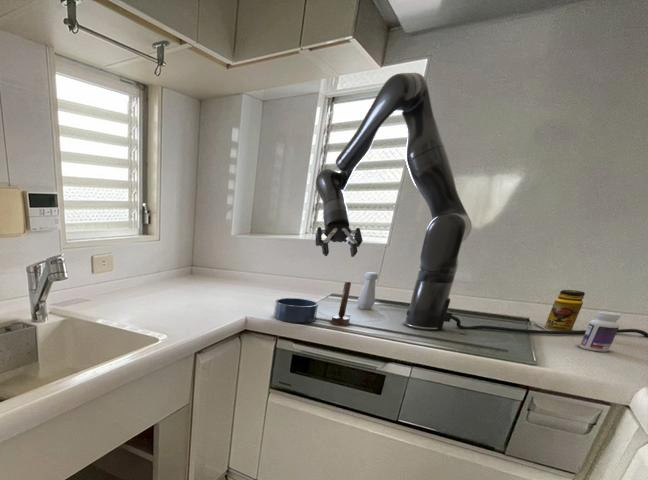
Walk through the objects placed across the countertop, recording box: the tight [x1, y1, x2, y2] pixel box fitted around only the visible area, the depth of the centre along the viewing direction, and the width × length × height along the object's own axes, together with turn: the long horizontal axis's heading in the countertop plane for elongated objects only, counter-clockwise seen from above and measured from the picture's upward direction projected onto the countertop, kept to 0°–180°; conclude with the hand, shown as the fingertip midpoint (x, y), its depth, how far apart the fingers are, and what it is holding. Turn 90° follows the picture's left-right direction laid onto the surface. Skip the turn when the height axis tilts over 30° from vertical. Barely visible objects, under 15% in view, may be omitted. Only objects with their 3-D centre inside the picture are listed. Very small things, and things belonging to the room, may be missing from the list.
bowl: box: [273, 297, 319, 324], centre depth 133 cm, size 13×13×6 cm
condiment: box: [535, 289, 586, 331], centre depth 123 cm, size 7×8×12 cm
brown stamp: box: [330, 280, 352, 327], centre depth 126 cm, size 5×5×13 cm
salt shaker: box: [356, 271, 379, 310], centre depth 147 cm, size 6×6×13 cm
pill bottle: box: [579, 311, 622, 353], centre depth 105 cm, size 5×5×10 cm
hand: (340, 254), depth 132 cm, fingers open, 8 cm apart
